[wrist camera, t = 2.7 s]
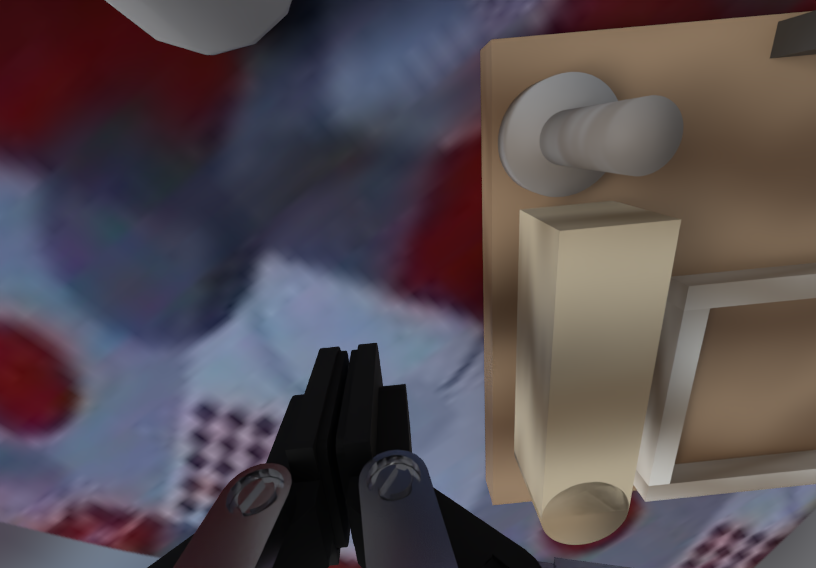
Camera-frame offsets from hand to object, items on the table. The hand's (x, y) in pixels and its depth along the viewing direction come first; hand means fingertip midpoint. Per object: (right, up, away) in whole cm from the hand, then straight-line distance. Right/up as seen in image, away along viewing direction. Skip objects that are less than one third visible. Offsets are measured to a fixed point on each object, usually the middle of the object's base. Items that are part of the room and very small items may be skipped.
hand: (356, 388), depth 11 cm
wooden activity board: (+14, +3, +5) cm, 15 cm away
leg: (+7, 0, +3) cm, 8 cm away
